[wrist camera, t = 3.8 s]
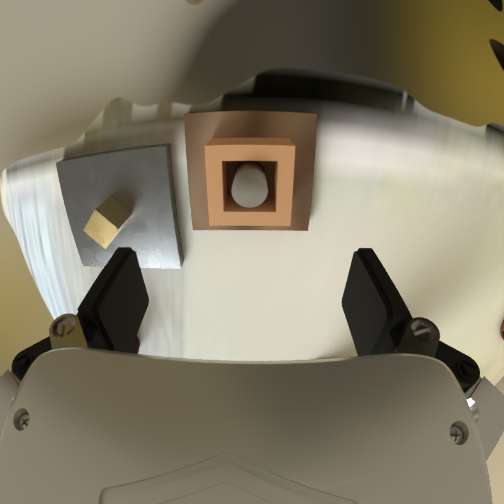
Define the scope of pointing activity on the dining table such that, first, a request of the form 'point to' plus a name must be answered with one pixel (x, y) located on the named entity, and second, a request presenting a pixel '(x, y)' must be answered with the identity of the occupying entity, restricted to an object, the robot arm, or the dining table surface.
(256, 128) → the stand
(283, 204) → the collar
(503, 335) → the brown wooden bowl
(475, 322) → the dining table surface
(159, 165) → the base plate
